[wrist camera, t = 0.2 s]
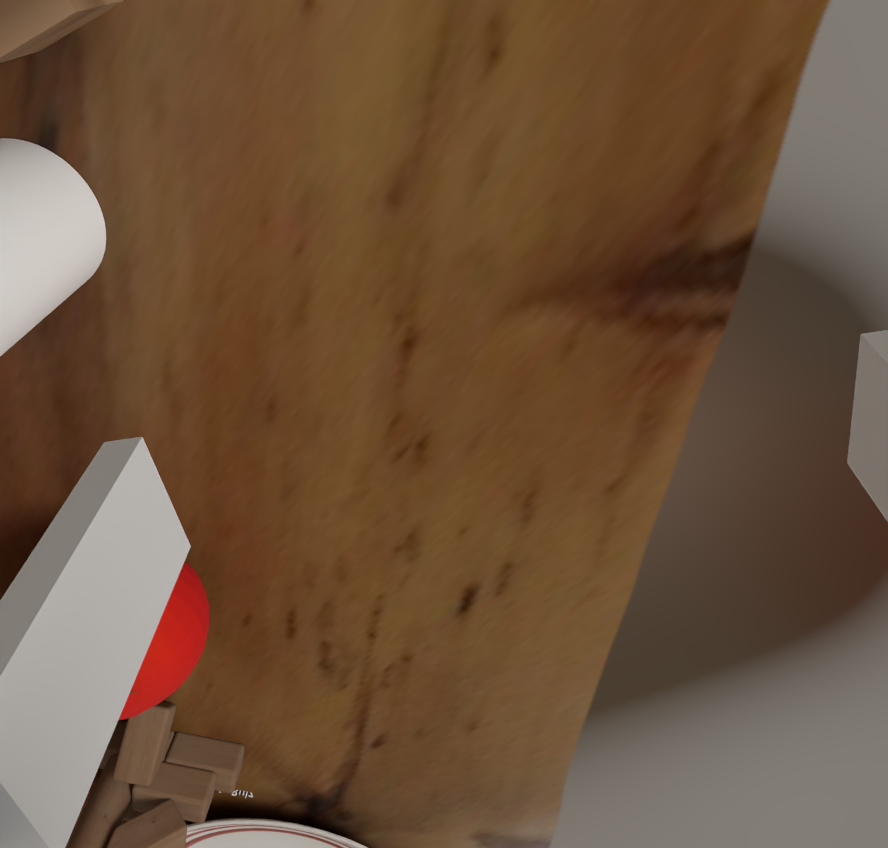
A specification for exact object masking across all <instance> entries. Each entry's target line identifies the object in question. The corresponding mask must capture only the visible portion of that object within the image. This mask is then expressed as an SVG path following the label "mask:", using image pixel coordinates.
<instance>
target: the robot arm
mask: <svg viewBox="0 0 888 848" xmlns="http://www.w3.org/2000/svg"><path fill="white" fill-rule="evenodd" d="M851 423H852V424H851V432H850V442H849V452H848V461H847V463H848V465H849V466H850V468H851V469H852V471H853V472H854V473H855V475H856V476H857V478H858V479H859V481H860V482H861V484H862V485H863V487H864V488H865V490H866V491H867V493H868V494H869V495H870V497H871V498H872V500H873V501H874V503H875V504H876V505H877V507H878V508H879V510H880V511H881V513H882V514H883V516H884V517H885V519H886V520H887V522H888V330H886V331H880V332H872V333H866V334H861V337H860V347H859V356H858V365H857V375H856V384H855V394H854V404H853V413H852V422H851ZM190 547H191V546H190V544H189V541H188V539H187V537H186V535H185V532H184V530H183V528H182V526H181V523H180V521H179V519H178V517H177V514H176V512H175V510H174V507H173V505H172V503H171V501H170V498H169V496H168V494H167V492H166V489H165V487H164V485H163V483H162V480H161V478H160V476H159V474H158V471H157V469H156V467H155V464H154V462H153V460H152V458H151V455H150V453H149V451H148V449H147V446H146V444H145V442H144V440H143V437H137V438H130V439H123V440H116V441H109V442H104V443H103V445H102V446H101V448H100V449H99V451H98V453H97V454H96V456H95V457H94V459H93V460H92V462H91V463H90V465H89V466H88V468H87V469H86V471H85V472H84V474H83V475H82V477H81V478H80V480H79V481H78V483H77V484H76V486H75V488H74V489H73V491H72V492H71V494H70V495H69V497H68V498H67V500H66V501H65V503H64V504H63V506H62V507H61V509H60V510H59V512H58V513H57V515H56V516H55V518H54V520H53V521H52V523H51V524H50V526H49V527H48V529H47V530H46V532H45V533H44V535H43V536H42V538H41V539H40V541H39V542H38V544H37V545H36V547H35V548H34V550H33V551H32V553H31V555H30V556H29V558H28V559H27V561H26V562H25V564H24V565H23V567H22V568H21V570H20V571H19V573H18V574H17V576H16V577H15V579H14V580H13V582H12V583H11V585H10V587H9V588H8V590H7V591H6V593H5V594H4V596H3V597H2V599H1V600H0V848H65V847H66V844H67V842H68V840H69V837H70V835H71V832H72V830H73V828H74V825H75V823H76V820H77V818H78V816H79V813H80V811H81V808H82V806H83V804H84V801H85V799H86V796H87V794H88V792H89V789H90V787H91V784H92V782H93V780H94V777H95V775H96V772H97V770H98V768H99V765H100V763H101V761H102V758H103V756H104V753H105V751H106V749H107V746H108V744H109V741H110V739H111V737H112V734H113V732H114V729H115V727H116V725H117V722H118V720H119V717H120V715H121V713H122V710H123V708H124V705H125V703H126V701H127V698H128V696H129V693H130V691H131V689H132V686H133V684H134V681H135V679H136V677H137V674H138V672H139V669H140V667H141V665H142V662H143V660H144V657H145V655H146V653H147V650H148V648H149V645H150V643H151V641H152V638H153V636H154V633H155V631H156V629H157V626H158V624H159V621H160V619H161V617H162V614H163V612H164V609H165V607H166V605H167V602H168V600H169V597H170V595H171V593H172V590H173V588H174V585H175V583H176V581H177V578H178V576H179V573H180V571H181V569H182V566H183V564H184V562H185V559H186V557H187V554H188V552H189V550H190Z"/></svg>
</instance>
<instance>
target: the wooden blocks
mask: <svg viewBox="0 0 888 848" xmlns="http://www.w3.org/2000/svg"><path fill="white" fill-rule="evenodd" d="M175 711H176V705H175V704H172V703H167V702H160V703H159V704H157V705H155V706H153V707H151V708H150V709H148V710H146V711H144V712H142V713H140V714H139V715H137V716H135V717H131V718H128V722H126V721H121V720H118V722H117V725H116V727H115V729H114V732H113V734H112V737H111V739H110V741H109V744H108V746H107V749H106V751H105V753H104V756H103V758H102V761H101V763H100V765H99V768H101V769H103V771H102V773H101V775H100V777H99V780H98V782H97V784H96V786H95V788H94V790H93V792H92V794H91V796H90V799H89V801H88V803H87V805H86V807H85V809H84V811H83V813H82V815H81V818H80V820H79V822H78V824H77V826H76V828H75V830H74V832H73V834H72V837H71V839H70V841H69V843H68V845H67V847H66V848H184V847H185V846H186V836H187V825H186V823H185V821H184V820H186V821H191V822H196V823H203V822H204V821H205V819H206V816H207V813H208V810H209V807H210V804H211V801H212V798H213V795H214V790H215V791H219V793H220V792H225V793H232V796H236V795H237V791H238V790H236V791H234V790H235V787H236V784H237V780H238V777H239V774H240V771H241V768H242V763H243V756H244V749H245V748H244V745H242V744H238V743H233V742H228V741H223V740H218V739H213V738H208V737H202V736H197V735H192V734H187V733H182V732H177V733H176V734H175V733H174V731H172V730H170V729H171V726H172V722H173V718H174V714H175ZM234 792H235V793H236V794H233V793H234ZM244 792H245V791H243V795H244ZM240 793H241V790H240V792H239V795H240ZM247 793H248V792H246V796H247ZM250 794H251V795H248V797H253V795H252V793H251V792H250ZM246 796H245V798H246ZM122 820H126V821H127V822H125V823H123V824H121V822H122Z"/></svg>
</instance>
